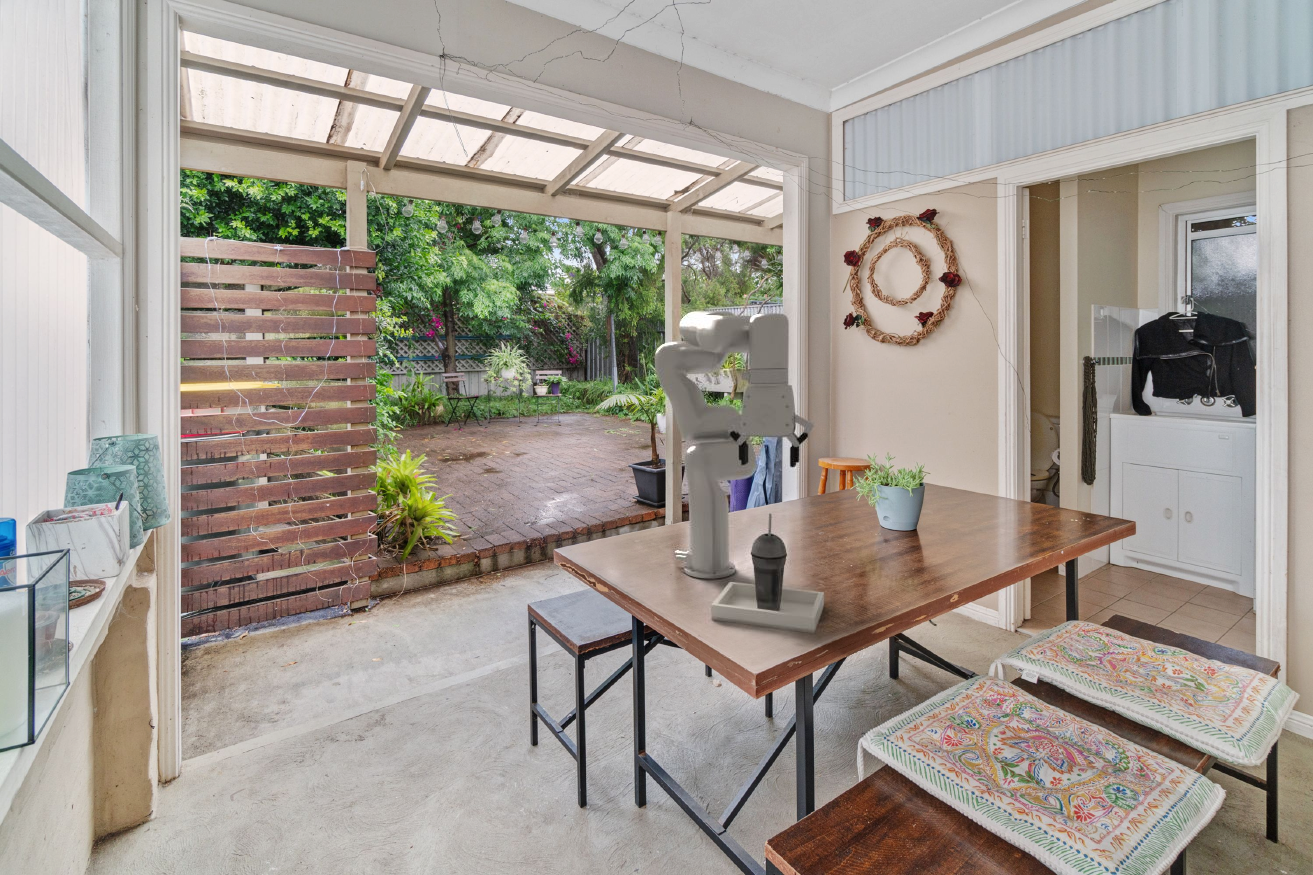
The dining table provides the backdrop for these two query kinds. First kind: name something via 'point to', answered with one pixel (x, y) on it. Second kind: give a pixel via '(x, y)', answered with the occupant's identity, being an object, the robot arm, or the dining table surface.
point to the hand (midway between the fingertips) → (768, 465)
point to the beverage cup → (768, 569)
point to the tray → (794, 614)
